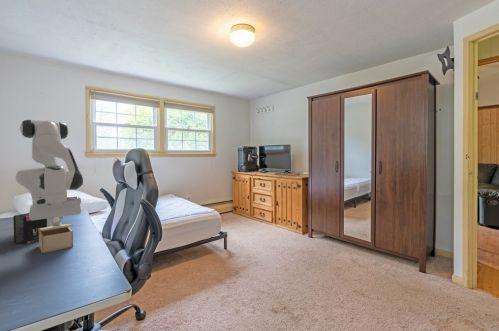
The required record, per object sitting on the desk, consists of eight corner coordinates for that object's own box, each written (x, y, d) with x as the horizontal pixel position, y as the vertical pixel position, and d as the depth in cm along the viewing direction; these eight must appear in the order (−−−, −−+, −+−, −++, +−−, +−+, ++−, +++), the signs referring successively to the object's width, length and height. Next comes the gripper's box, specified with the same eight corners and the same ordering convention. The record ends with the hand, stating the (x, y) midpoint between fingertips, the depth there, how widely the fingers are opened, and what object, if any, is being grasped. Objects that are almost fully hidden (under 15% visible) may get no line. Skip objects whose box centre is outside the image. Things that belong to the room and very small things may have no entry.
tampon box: (27, 244, 127) (26, 216, 126) (13, 243, 129) (12, 215, 128) (48, 237, 138) (47, 212, 137) (35, 236, 139) (34, 211, 139)
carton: (39, 246, 124) (38, 230, 124) (67, 240, 133) (67, 226, 132) (42, 253, 114) (41, 236, 114) (73, 246, 123) (72, 231, 123)
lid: (38, 230, 124) (38, 228, 124) (67, 225, 133) (67, 223, 133) (41, 231, 114) (41, 228, 114) (72, 226, 123) (72, 224, 123)
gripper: (79, 195, 130) (80, 221, 131) (28, 200, 115) (28, 228, 116) (82, 196, 126) (82, 223, 126) (29, 201, 111) (29, 231, 111)
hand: (56, 225), depth 121 cm, fingers closed, pressing on lid
